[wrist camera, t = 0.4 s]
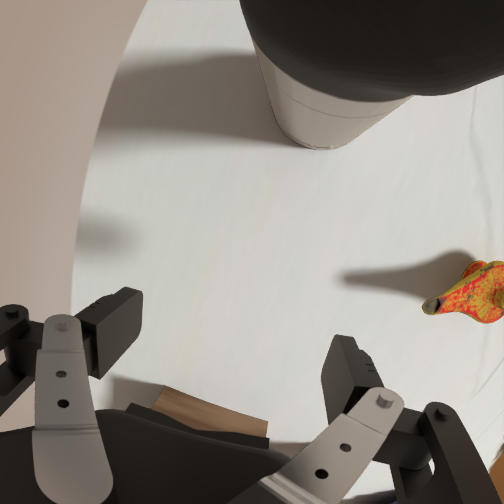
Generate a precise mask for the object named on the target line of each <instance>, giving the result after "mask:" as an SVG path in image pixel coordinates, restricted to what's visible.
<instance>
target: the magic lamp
mask: <svg viewBox="0 0 504 504" xmlns="http://www.w3.org/2000/svg"><path fill="white" fill-rule="evenodd" d="M422 309H423V312H424V313H425V314H428V315H436V314H443V313H448V312H460V313H464V314H466V315H468V316H470V317H472V318H473V319H475V320H476V321H478V322H481V323H492V322H495V321H497V320H499V319H500V318H501V317H502V316H504V262H502V261H493V262H490V263H488V264H487V263H486V262H484V261H476V262H474V263H472V264H471V265H469V266H468V268H467V269H466V270H465V272H464V274H463V276H462V278H461V281H460V282H458V283H457V284H455V285H454V286H453V287H451V288H450V289H449V290H447V291H446V292H445V293H443V294H441V295H439V296H437V297H434V298H431V299H428V300H427V301H426V302H425V303H424V304H423V305H422Z"/></svg>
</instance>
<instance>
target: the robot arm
mask: <svg viewBox="0 0 504 504" xmlns="http://www.w3.org/2000/svg"><path fill="white" fill-rule="evenodd" d="M239 1H240V5H241V9H242V12H243V15H244V18H245V21H246V24H247V27H248V30H249V32H250V35H251V39H252V42H253V45H254V48H255V51H256V54H257V58H258V60H259V63H260V67H261V70H262V74H263V77H264V81H265V84H266V88H267V91H268V95H269V98H270V102H271V106H272V109H273V113H274V116H275V118H276V121H277V123H278V124H279V126H280V128H281V129H282V131H283V132H284V133H285V134H286V135H287V136H288V137H289V138H291V139H292V140H294V141H295V142H296V143H298V144H300V145H303V146H305V147H308V148H312V149H316V150H329V149H335V148H339V147H341V146H344V145H346V144H347V143H349V142H350V141H352V140H353V139H355V138H356V137H358V136H359V135H361V134H362V133H363V132H365V131H366V130H367V129H369V128H370V127H371V126H373V125H374V124H376V123H377V122H378V121H380V120H381V119H383V118H384V117H385V116H387V115H388V114H389V113H391V112H392V111H394V110H395V109H396V108H398V107H399V106H400V105H402V104H403V103H404V102H406V101H407V100H409V99H410V98H411V97H413V96H414V95H421V96H437V95H446V94H451V93H455V92H459V91H462V90H464V89H467V88H470V87H472V86H475V85H477V84H480V83H482V82H485V81H487V80H490V79H493V78H496V77H498V76H501V75H504V0H239ZM142 307H143V293H142V291H139V290H136V289H132V288H129V287H124V288H122V289H121V290H119V291H118V292H116V293H115V294H111V295H107V296H103V297H101V298H100V299H98V300H97V301H95V303H92V304H91V305H89V306H88V307H86V308H85V309H83V310H82V311H80V312H79V313H78V314H76V315H75V316H71V315H65V314H59V315H53V316H51V317H49V318H47V319H46V320H45V322H44V323H39V322H34V321H30V320H29V313H28V309H26V308H25V307H24V306H21V305H16V304H11V305H5V306H3V307H1V308H0V351H1V350H2V349H4V353H5V357H6V361H5V362H4V363H2V364H1V365H0V416H1V415H2V414H3V413H4V412H5V411H6V410H7V409H8V408H9V407H10V406H11V405H12V404H13V402H15V401H16V399H17V398H18V397H19V396H20V395H21V394H22V393H23V392H24V391H25V390H26V389H27V388H28V387H29V386H30V385H31V384H32V383H33V382H34V381H35V426H31V427H26V428H22V429H16V430H11V431H6V432H0V504H339V502H340V501H341V500H342V499H343V498H344V496H345V495H346V494H347V493H348V491H349V490H350V489H351V488H352V486H353V485H354V484H355V482H356V481H357V480H358V478H359V477H360V476H361V474H362V473H363V472H364V470H365V469H366V467H367V466H368V464H369V463H370V462H371V460H373V461H377V462H381V463H385V464H389V465H390V469H391V474H392V478H393V483H394V487H395V492H396V497H397V502H398V504H502V503H501V500H500V498H499V495H498V493H497V491H496V489H495V486H494V484H493V482H492V480H491V478H490V476H489V474H488V471H487V469H486V467H485V465H484V463H483V461H482V459H481V457H480V455H479V453H478V451H477V449H476V448H475V446H474V444H473V442H472V440H471V438H470V436H469V434H468V432H467V431H466V429H465V427H464V425H463V423H462V422H461V420H460V418H459V416H458V415H457V413H456V412H455V410H454V409H452V408H451V407H450V406H448V405H446V404H444V403H440V402H431V403H429V404H427V405H426V407H425V409H424V410H423V412H419V411H415V410H411V409H407V408H404V401H403V399H402V398H401V397H400V396H399V395H398V394H397V393H396V392H394V391H392V390H390V389H387V388H385V387H384V385H383V383H382V381H381V378H380V376H379V374H378V372H377V370H376V368H375V366H374V363H373V361H372V359H371V357H370V356H369V355H368V354H367V353H366V352H364V351H363V350H359V348H358V346H357V344H356V341H355V339H354V337H350V336H343V335H337V334H336V335H335V336H334V338H333V340H332V343H331V346H330V348H329V351H328V354H327V357H326V360H325V362H324V365H323V368H322V373H321V383H322V388H323V394H324V400H325V406H326V412H327V418H328V424H329V426H328V427H327V428H326V429H325V430H324V431H323V432H322V433H321V434H320V435H319V436H317V437H316V438H315V439H314V440H313V441H312V442H311V443H310V444H309V445H308V446H307V447H305V448H304V449H303V450H302V451H301V452H300V453H299V454H297V455H296V456H295V457H294V458H293V459H290V458H289V457H287V456H285V455H284V454H282V453H280V452H278V451H275V450H273V449H270V448H269V438H265V437H259V436H254V435H248V434H243V433H238V432H226V431H206V430H196V429H193V428H191V427H189V426H187V425H185V424H183V423H181V422H179V421H177V420H175V419H173V418H171V417H169V416H167V415H165V414H163V413H161V412H157V411H154V410H151V409H148V408H145V407H143V406H140V405H137V404H134V403H131V404H130V405H129V407H128V408H127V410H126V411H124V410H115V409H105V410H96V411H94V406H93V401H92V396H91V391H90V385H89V379H88V376H89V375H90V376H92V377H95V378H97V379H99V380H100V379H101V378H102V377H103V376H104V375H105V374H106V373H107V371H108V370H109V369H110V368H111V367H112V366H113V365H114V363H115V362H116V361H117V360H118V359H119V358H120V357H121V356H122V354H123V353H124V352H125V351H126V350H127V349H128V348H129V347H130V346H131V344H132V343H133V342H134V341H135V340H136V339H137V338H138V336H139V334H140V331H141V325H142ZM431 458H432V459H433V462H434V465H435V470H434V474H433V475H432V472H431V469H430V466H429V463H428V462H429V461H430V460H431Z"/></svg>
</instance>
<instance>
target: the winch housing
mask: <svg viewBox="0 0 504 504" xmlns="http://www.w3.org/2000/svg"><path fill="white" fill-rule="evenodd" d="M151 410H154V411H157V412H161V413H163V414H165V415H167V416H169V417H171V418H173V419H175V420H177V421H179V422H181V423H183V424H185V425H187V426H189V427H191V428H193V429H196V430H206V431H226V432H238V433H243V434H248V435H254V436H259V437H265V438H266V433H267V426H268V421H264V420H260V419H257V418H254V417H250V416H247V415H244V414H241V413H238V412H234V411H231V410H228V409H225V408H222V407H220V406H217V405H214V404H211V403H208V402H206V401H203V400H200V399H197V398H195V397H192V396H190V395H187V394H185V393H182V392H180V391H177V390H175V389H172V388H170V387H168V386H165V388H164V389H163V391H162V392H161V394H160V396H159V397H158V399H157V400H156V402H155V403H154V405H153V407H152V408H151Z"/></svg>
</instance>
